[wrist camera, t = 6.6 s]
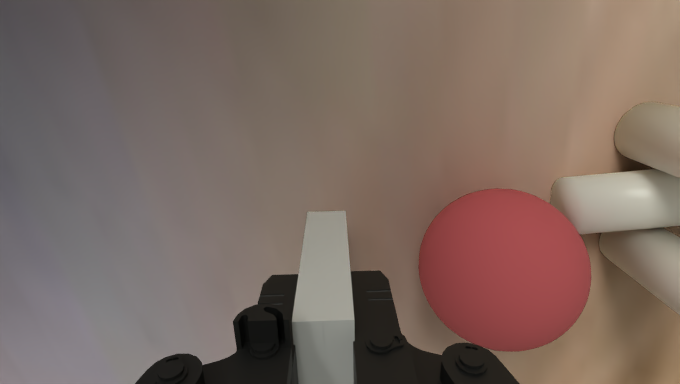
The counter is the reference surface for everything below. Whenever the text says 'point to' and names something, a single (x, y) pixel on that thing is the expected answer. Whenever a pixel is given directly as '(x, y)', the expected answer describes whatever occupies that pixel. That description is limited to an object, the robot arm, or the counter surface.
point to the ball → (504, 270)
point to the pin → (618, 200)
